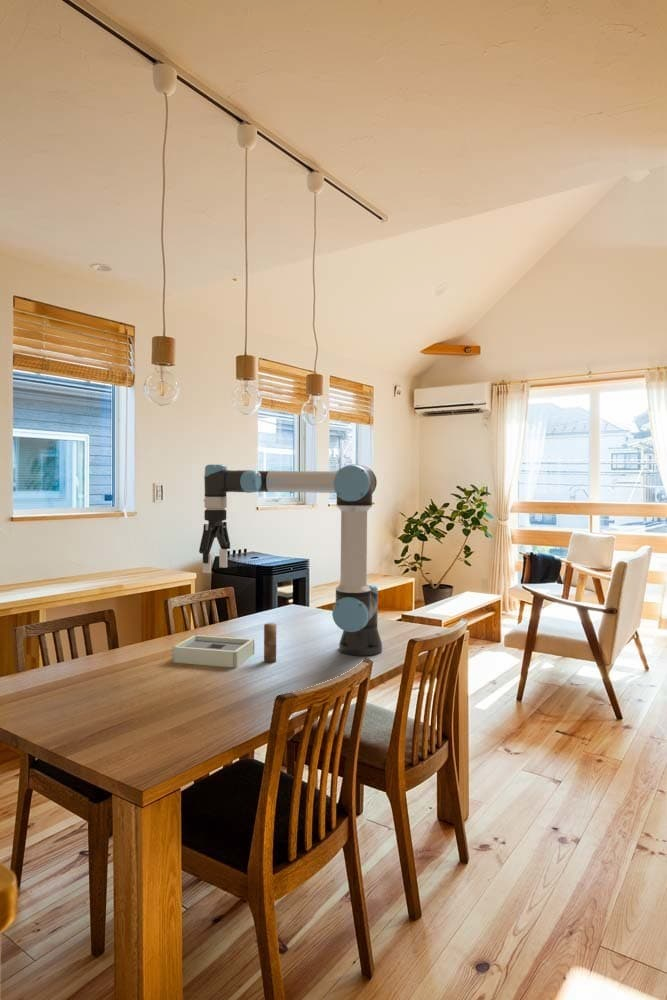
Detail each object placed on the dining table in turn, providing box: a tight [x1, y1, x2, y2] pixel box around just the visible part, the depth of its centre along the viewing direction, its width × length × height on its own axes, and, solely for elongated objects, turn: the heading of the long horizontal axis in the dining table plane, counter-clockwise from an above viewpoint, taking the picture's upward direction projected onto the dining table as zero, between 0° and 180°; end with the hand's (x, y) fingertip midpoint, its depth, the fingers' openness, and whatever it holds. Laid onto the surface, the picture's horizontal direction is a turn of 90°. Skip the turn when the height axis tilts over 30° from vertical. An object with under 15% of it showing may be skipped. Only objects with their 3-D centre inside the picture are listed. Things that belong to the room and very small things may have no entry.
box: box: [171, 634, 255, 669], centre depth 202 cm, size 22×16×5 cm
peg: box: [263, 623, 277, 664], centre depth 199 cm, size 4×4×12 cm
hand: (215, 570), depth 211 cm, fingers open, 13 cm apart
